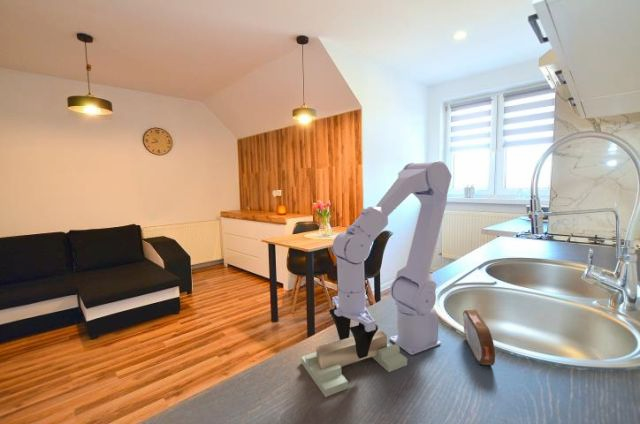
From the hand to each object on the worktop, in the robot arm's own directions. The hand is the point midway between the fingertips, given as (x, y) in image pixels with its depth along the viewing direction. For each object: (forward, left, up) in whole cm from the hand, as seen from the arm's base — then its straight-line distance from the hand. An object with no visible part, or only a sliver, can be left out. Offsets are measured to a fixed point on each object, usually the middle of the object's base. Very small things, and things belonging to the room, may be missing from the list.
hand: (353, 347), depth 67 cm
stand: (0, 0, -4) cm, 4 cm away
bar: (0, 0, -2) cm, 2 cm away
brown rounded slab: (-27, +10, -4) cm, 29 cm away
